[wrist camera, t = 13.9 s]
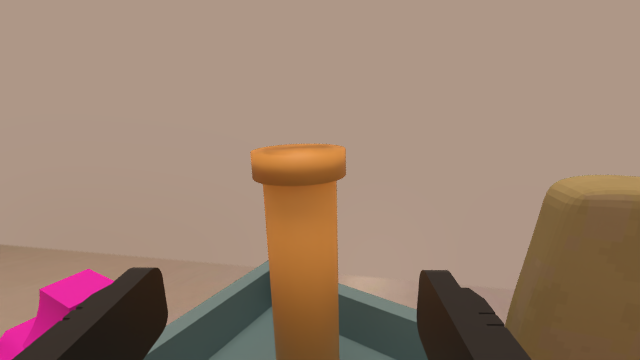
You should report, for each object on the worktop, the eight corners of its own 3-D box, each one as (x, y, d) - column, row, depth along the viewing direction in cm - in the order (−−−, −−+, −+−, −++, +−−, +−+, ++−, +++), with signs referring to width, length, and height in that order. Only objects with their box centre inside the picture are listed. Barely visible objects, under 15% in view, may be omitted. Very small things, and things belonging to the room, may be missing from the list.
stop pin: (255, 418, 17) (229, 153, 14) (301, 363, 21) (289, 142, 17) (322, 464, 15) (311, 160, 11) (360, 393, 19) (361, 145, 15)
